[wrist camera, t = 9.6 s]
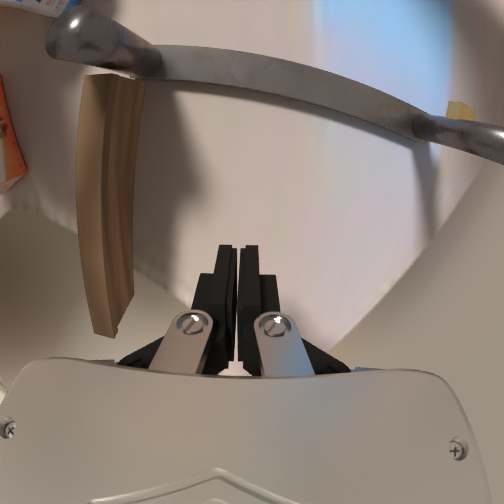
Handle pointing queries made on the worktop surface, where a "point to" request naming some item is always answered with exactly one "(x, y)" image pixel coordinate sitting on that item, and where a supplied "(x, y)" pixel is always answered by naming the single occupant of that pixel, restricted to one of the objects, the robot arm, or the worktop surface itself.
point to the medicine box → (42, 6)
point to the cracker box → (8, 149)
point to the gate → (107, 194)
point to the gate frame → (263, 80)
